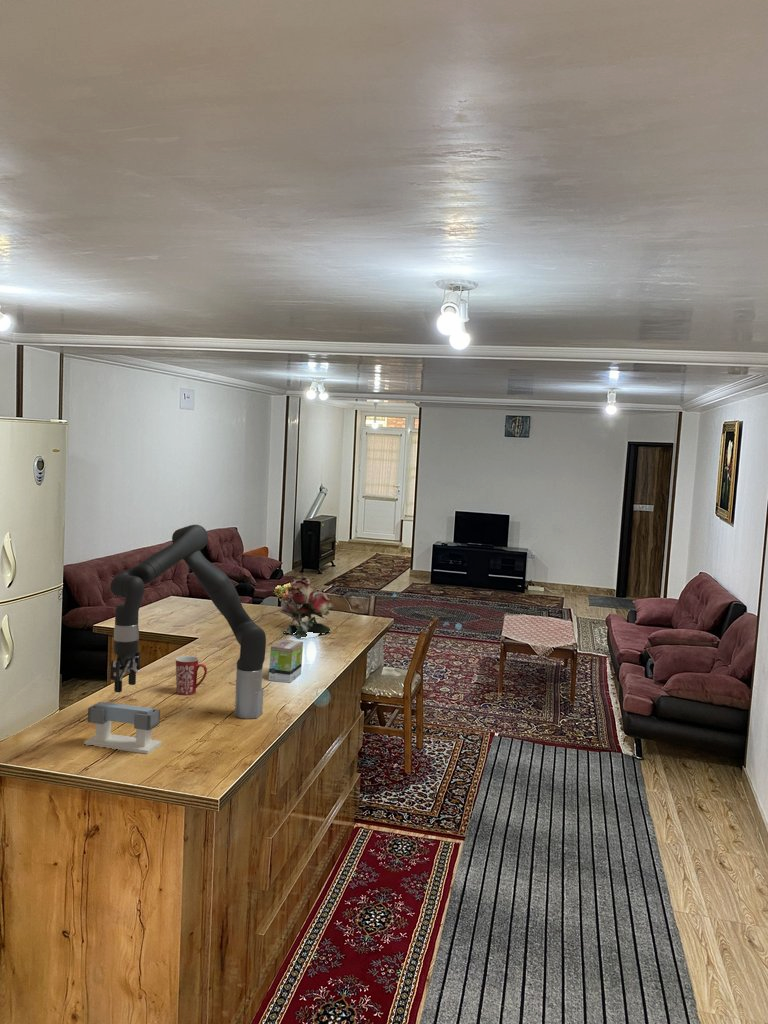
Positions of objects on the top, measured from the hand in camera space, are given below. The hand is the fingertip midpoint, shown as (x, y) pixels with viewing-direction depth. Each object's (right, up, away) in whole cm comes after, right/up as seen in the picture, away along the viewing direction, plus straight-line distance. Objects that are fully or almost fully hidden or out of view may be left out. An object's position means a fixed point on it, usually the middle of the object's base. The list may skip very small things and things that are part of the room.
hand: (125, 688), depth 253 cm
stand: (-1, -18, +1) cm, 18 cm away
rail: (-1, -11, +1) cm, 11 cm away
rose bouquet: (+38, -9, +174) cm, 178 cm away
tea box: (+40, -15, +87) cm, 97 cm away
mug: (+6, -15, +58) cm, 60 cm away
